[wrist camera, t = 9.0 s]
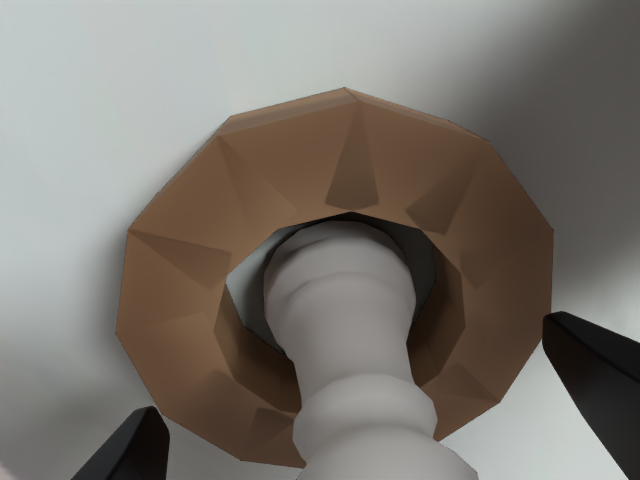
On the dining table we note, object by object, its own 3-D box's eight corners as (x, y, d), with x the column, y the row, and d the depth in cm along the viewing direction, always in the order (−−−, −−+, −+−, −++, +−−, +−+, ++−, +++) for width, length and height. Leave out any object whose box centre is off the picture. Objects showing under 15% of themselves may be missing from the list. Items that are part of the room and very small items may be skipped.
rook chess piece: (343, 356, 14) (400, 675, 7) (234, 292, 13) (169, 614, 6) (435, 265, 13) (617, 549, 6) (324, 183, 12) (386, 426, 4)
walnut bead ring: (502, 47, 10) (559, 50, 8) (510, 369, 15) (547, 424, 13) (79, 153, 11) (27, 183, 8) (220, 435, 16) (210, 499, 13)
